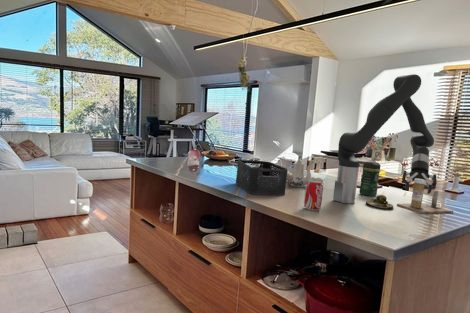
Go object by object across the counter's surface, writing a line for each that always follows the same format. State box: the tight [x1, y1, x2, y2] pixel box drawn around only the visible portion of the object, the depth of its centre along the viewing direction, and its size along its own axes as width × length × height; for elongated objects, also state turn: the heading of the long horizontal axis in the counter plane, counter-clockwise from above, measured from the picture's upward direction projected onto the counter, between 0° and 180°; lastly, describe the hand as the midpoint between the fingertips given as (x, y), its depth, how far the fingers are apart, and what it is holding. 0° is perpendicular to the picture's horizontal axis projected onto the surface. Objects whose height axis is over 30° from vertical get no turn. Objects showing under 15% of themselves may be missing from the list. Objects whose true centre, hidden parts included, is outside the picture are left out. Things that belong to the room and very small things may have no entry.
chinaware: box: [285, 158, 325, 188], centre depth 193 cm, size 28×17×17 cm, turn 57°
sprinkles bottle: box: [410, 178, 426, 208], centre depth 153 cm, size 5×5×13 cm
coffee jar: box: [358, 161, 381, 197], centre depth 180 cm, size 10×8×19 cm
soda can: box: [303, 180, 324, 212], centre depth 136 cm, size 7×7×12 cm
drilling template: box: [396, 190, 454, 215], centre depth 155 cm, size 20×14×9 cm
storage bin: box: [235, 159, 289, 196], centre depth 170 cm, size 29×19×13 cm
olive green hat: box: [365, 191, 394, 211], centre depth 152 cm, size 12×12×8 cm
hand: (418, 191), depth 151 cm, fingers open, 8 cm apart
